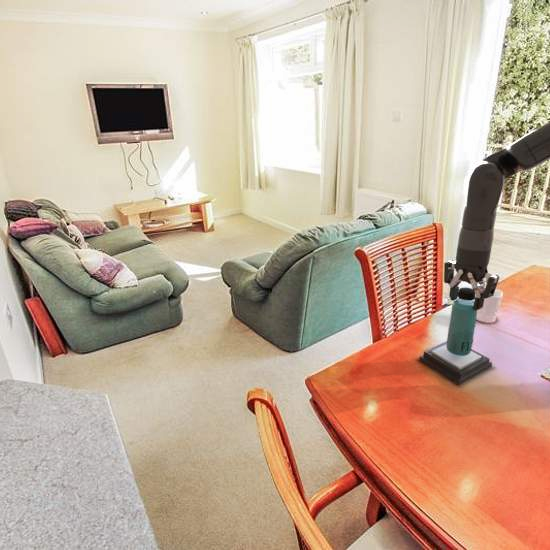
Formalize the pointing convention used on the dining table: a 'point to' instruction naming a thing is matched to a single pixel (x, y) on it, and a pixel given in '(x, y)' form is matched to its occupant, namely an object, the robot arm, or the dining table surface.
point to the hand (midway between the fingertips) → (464, 304)
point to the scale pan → (456, 357)
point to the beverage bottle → (462, 323)
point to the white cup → (490, 308)
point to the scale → (452, 371)
